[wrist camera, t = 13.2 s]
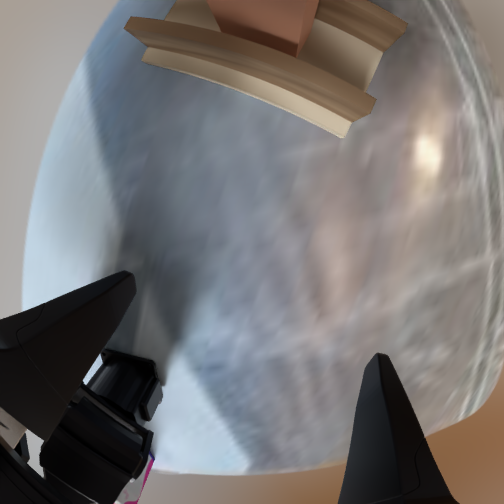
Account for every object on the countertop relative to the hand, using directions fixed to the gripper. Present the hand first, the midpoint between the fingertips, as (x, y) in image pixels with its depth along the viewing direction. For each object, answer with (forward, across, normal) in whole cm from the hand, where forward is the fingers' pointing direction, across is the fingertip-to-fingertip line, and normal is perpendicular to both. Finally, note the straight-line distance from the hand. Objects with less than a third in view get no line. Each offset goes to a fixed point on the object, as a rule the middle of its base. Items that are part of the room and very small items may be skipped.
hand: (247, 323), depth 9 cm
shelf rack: (+15, +5, -11) cm, 19 cm away
